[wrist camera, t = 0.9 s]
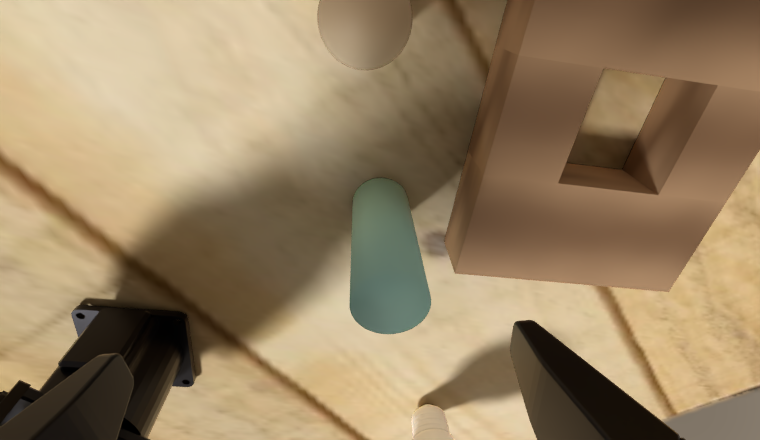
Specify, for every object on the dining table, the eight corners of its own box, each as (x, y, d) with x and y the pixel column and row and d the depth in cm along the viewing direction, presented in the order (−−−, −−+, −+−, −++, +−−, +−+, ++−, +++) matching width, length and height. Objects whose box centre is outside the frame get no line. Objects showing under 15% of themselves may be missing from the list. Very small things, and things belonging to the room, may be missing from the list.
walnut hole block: (635, 259, 24) (668, 291, 22) (444, 241, 23) (454, 273, 20) (811, -56, 17) (895, -63, 14) (536, -111, 15) (572, -130, 13)
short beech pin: (392, 54, 18) (403, 76, 14) (325, 44, 18) (314, 63, 13) (404, -23, 16) (420, -27, 12) (331, -36, 16) (320, -44, 12)
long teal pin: (403, 229, 23) (422, 336, 16) (349, 224, 22) (345, 331, 15) (412, 181, 21) (438, 275, 14) (355, 174, 21) (354, 268, 14)
